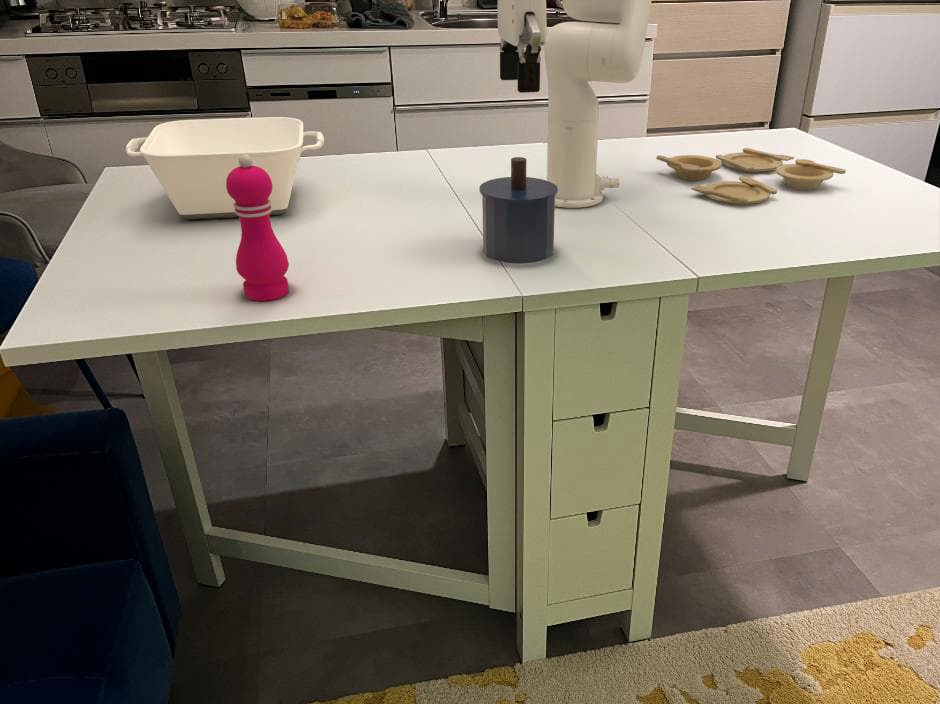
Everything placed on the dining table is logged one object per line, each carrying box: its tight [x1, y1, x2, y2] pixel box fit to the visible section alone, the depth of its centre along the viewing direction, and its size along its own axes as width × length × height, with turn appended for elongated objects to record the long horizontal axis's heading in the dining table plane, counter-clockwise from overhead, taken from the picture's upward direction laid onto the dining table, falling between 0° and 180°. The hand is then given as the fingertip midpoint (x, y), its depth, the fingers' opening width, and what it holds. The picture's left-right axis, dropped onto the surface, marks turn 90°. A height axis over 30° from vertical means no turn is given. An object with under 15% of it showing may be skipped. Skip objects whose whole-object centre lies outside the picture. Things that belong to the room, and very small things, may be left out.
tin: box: [481, 194, 556, 265], centre depth 135 cm, size 11×11×10 cm
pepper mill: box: [226, 155, 290, 302], centre depth 117 cm, size 7×7×20 cm
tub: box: [125, 116, 325, 220], centre depth 153 cm, size 34×27×13 cm
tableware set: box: [655, 147, 847, 205], centre depth 175 cm, size 35×29×4 cm
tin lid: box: [478, 156, 558, 203], centre depth 131 cm, size 12×12×6 cm
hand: (519, 85), depth 124 cm, fingers open, 9 cm apart
